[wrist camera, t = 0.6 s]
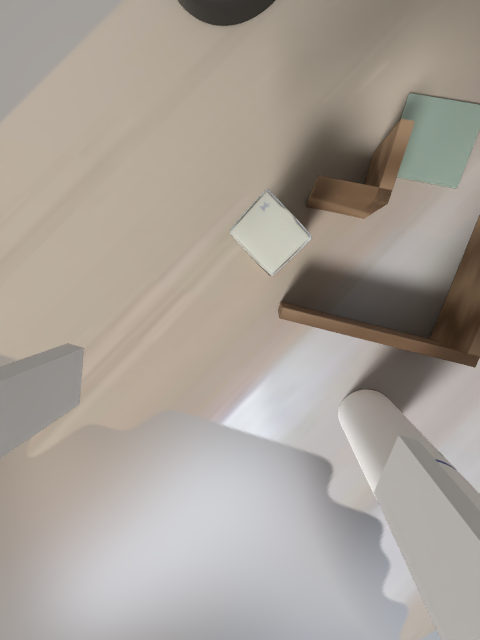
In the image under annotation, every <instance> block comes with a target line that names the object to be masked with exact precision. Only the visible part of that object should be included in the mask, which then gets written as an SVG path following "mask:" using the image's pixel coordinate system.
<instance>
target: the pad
mask: <svg viewBox="0 0 480 640" xmlns="http://www.w3.org/2000/svg"><path fill="white" fill-rule="evenodd" d="M401 119H406V120H411V121H415V123H414V126H413V129H412V132H411V135H410V138H409V141H408V144H407V147H406V150H405V153H404V156H403V159H402V162H401V165H400V168H399V171H398V174H397V177H399V178H404V179H409V180H414V181H420V182H425V183H430V184H435V185H440V186H445V187H450V188H457V187H458V184H459V182H460V179H461V176H462V174H463V171H464V168H465V166H466V163H467V161H468V158H469V155H470V153H471V150H472V147H473V145H474V142H475V139H476V137H477V134H478V132H479V129H480V105H479V104H473V103H466V102H460V101H454V100H448V99H442V98H436V97H430V96H424V95H418V94H412V93H409V95H408V97H407V101H406V104H405V107H404V110H403V113H402V116H401ZM401 119H400V120H401Z"/></svg>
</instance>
